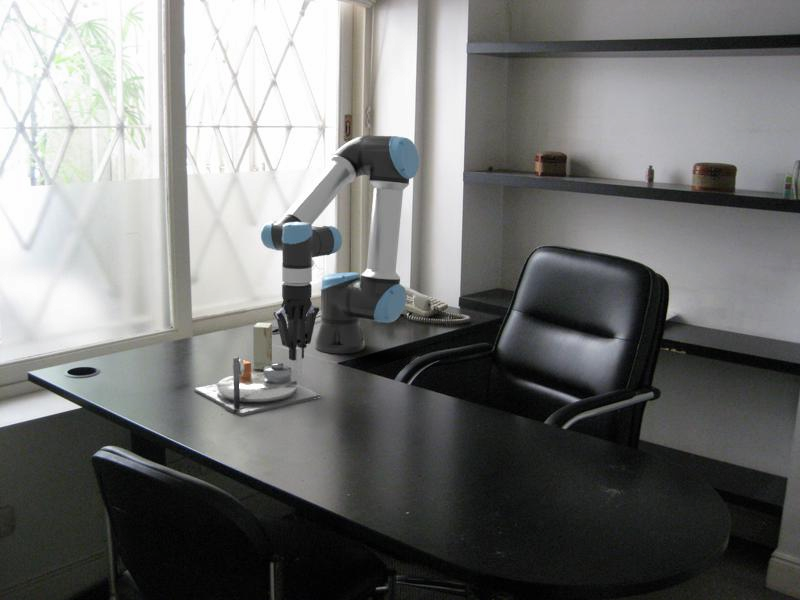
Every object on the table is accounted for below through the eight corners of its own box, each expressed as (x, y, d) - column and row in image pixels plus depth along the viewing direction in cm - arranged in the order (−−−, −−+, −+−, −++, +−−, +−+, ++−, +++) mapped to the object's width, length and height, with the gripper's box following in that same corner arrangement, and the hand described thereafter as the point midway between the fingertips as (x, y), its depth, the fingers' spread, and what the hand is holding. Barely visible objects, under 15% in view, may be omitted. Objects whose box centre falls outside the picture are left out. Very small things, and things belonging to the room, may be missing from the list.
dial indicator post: (236, 404, 210) (236, 353, 207) (248, 410, 206) (247, 358, 203) (222, 407, 207) (221, 355, 204) (233, 413, 203) (233, 361, 200)
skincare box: (268, 370, 238) (268, 327, 235) (253, 369, 238) (252, 327, 235) (272, 363, 244) (272, 322, 242) (257, 363, 244) (257, 321, 242)
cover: (281, 374, 225) (281, 358, 224) (296, 380, 220) (296, 365, 219) (258, 378, 221) (258, 363, 220) (273, 385, 216) (273, 369, 215)
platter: (269, 372, 231) (269, 353, 230) (312, 391, 216) (312, 371, 215) (202, 386, 218) (202, 366, 217) (243, 407, 203) (243, 385, 202)
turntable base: (271, 375, 233) (271, 371, 233) (320, 397, 216) (320, 393, 216) (194, 391, 218) (194, 387, 218) (241, 416, 201) (240, 411, 201)
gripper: (309, 278, 226) (308, 364, 231) (267, 283, 218) (267, 372, 223) (326, 282, 221) (324, 370, 225) (283, 288, 212) (283, 379, 217)
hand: (296, 371), depth 224 cm, fingers closed
